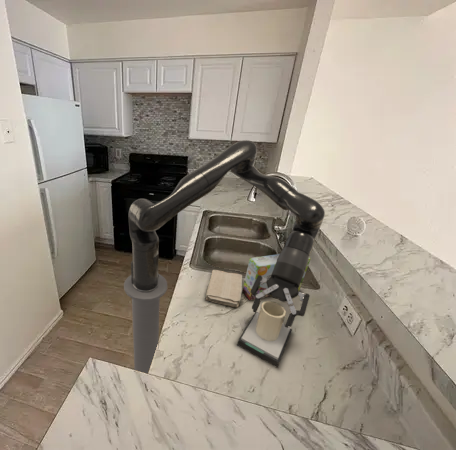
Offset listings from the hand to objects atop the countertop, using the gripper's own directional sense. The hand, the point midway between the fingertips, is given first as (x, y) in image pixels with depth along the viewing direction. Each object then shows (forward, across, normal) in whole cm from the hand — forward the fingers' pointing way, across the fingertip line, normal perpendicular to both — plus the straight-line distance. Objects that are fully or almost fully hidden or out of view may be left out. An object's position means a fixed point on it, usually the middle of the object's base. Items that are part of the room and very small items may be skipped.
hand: (269, 319), depth 70 cm
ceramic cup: (+3, 0, -6) cm, 6 cm away
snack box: (-11, +5, -24) cm, 27 cm away
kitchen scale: (+5, 0, -7) cm, 9 cm away
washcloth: (-4, +19, -17) cm, 25 cm away
